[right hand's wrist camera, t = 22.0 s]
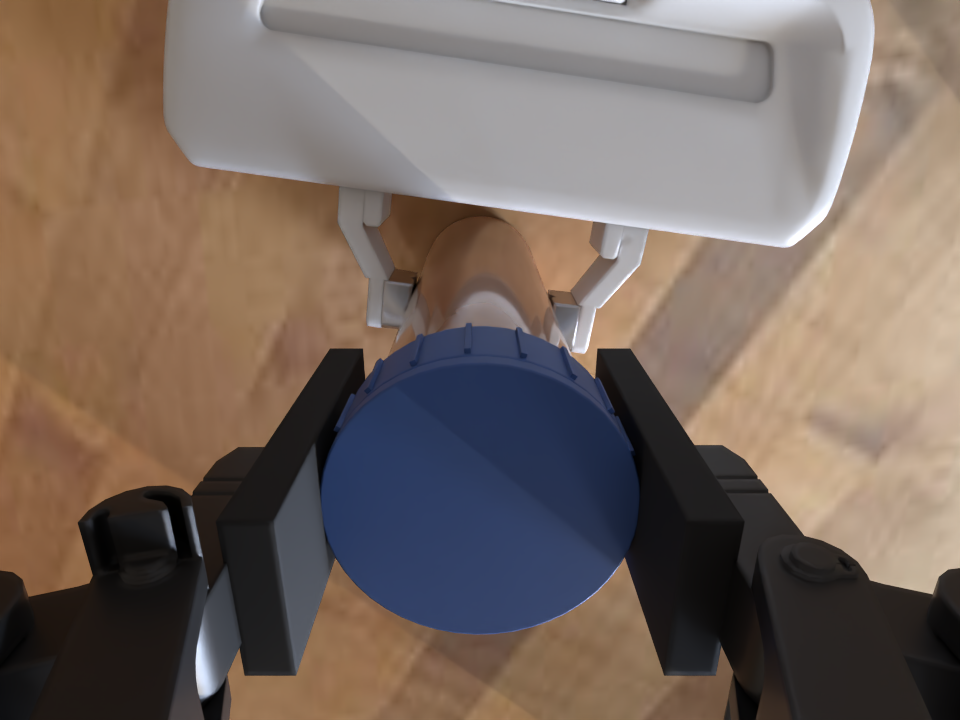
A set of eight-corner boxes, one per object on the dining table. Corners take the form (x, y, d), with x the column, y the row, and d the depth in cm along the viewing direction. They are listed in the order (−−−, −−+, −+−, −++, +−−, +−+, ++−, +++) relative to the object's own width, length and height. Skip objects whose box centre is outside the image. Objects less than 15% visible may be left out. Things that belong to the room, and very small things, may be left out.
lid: (427, 604, 14) (418, 677, 12) (282, 402, 12) (247, 452, 10) (662, 504, 13) (692, 568, 11) (544, 267, 11) (557, 297, 9)
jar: (538, 219, 27) (631, 373, 10) (528, 324, 28) (594, 598, 12) (428, 212, 26) (344, 356, 10) (424, 318, 28) (349, 586, 12)
